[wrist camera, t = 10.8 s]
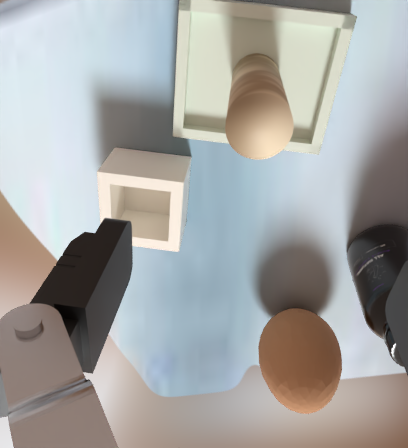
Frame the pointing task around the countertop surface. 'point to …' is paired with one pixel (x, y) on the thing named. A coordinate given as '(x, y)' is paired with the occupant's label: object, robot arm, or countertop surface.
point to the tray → (264, 44)
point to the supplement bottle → (378, 275)
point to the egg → (300, 360)
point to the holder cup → (146, 195)
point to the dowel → (258, 109)
